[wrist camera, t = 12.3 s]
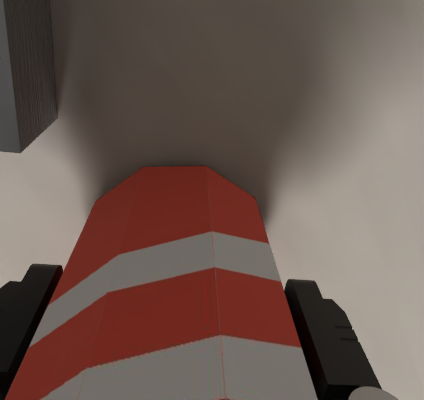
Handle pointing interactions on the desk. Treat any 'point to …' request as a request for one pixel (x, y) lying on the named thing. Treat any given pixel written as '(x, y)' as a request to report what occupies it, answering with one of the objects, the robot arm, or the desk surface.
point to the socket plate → (25, 73)
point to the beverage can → (168, 301)
